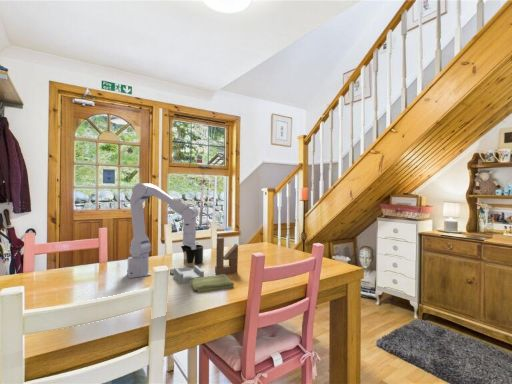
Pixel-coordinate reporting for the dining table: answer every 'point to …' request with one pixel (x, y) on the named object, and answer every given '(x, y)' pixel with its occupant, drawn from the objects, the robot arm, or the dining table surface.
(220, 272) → the brown angular piece
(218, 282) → the washcloth
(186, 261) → the block
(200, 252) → the mug
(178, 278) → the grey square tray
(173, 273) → the pad
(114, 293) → the dining table surface
